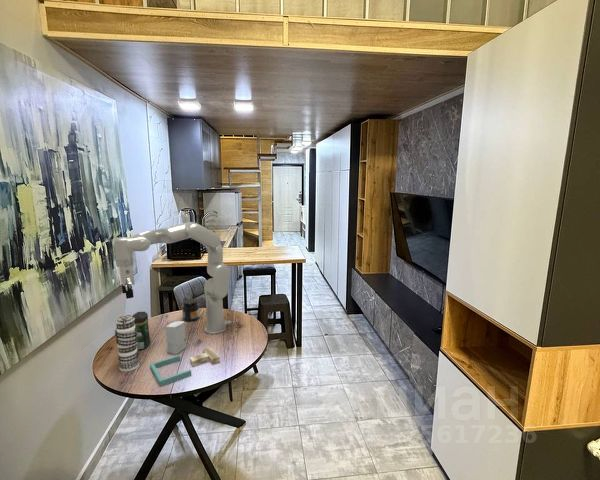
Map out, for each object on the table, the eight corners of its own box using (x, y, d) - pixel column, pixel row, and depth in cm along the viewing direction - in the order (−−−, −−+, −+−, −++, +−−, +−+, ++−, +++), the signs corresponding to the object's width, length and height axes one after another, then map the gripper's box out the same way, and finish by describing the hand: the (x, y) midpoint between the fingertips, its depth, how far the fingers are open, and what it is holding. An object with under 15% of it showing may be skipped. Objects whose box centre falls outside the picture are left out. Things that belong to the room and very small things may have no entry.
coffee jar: (136, 342, 177) (134, 310, 174) (151, 341, 178) (149, 309, 175) (130, 351, 168) (127, 317, 165) (146, 350, 169) (143, 316, 166)
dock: (179, 359, 160) (179, 354, 159) (191, 375, 146) (191, 370, 146) (150, 368, 152) (149, 363, 151) (160, 386, 138) (159, 381, 138)
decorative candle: (119, 363, 156) (115, 314, 152) (141, 359, 159) (136, 312, 155) (116, 373, 148) (111, 322, 144) (139, 369, 151) (134, 319, 147)
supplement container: (202, 318, 209) (201, 301, 207) (187, 323, 202) (185, 305, 200) (195, 314, 217) (194, 297, 215) (180, 318, 209) (178, 301, 207)
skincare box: (176, 354, 164) (174, 327, 162) (166, 353, 166) (164, 326, 164) (186, 347, 172) (185, 321, 170) (177, 345, 174) (175, 319, 171)
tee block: (210, 352, 167) (210, 347, 166) (219, 362, 157) (219, 356, 157) (187, 360, 160) (186, 354, 159) (195, 370, 150) (195, 364, 150)
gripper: (137, 264, 154) (139, 298, 157) (130, 258, 167) (132, 289, 170) (119, 266, 149) (122, 301, 152) (113, 260, 163) (116, 292, 166)
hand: (128, 295), depth 161 cm, fingers open, 9 cm apart
